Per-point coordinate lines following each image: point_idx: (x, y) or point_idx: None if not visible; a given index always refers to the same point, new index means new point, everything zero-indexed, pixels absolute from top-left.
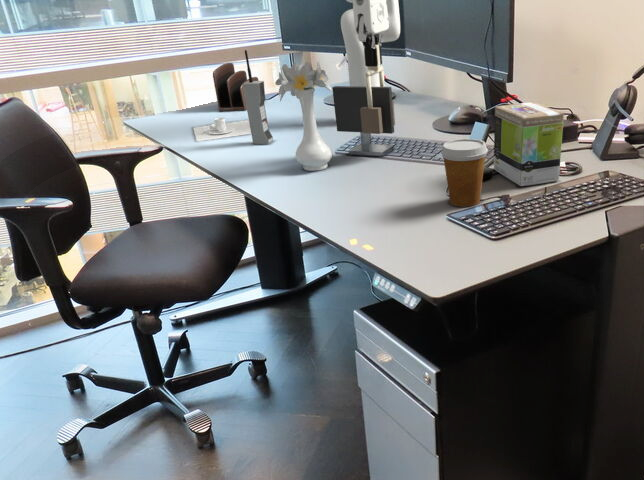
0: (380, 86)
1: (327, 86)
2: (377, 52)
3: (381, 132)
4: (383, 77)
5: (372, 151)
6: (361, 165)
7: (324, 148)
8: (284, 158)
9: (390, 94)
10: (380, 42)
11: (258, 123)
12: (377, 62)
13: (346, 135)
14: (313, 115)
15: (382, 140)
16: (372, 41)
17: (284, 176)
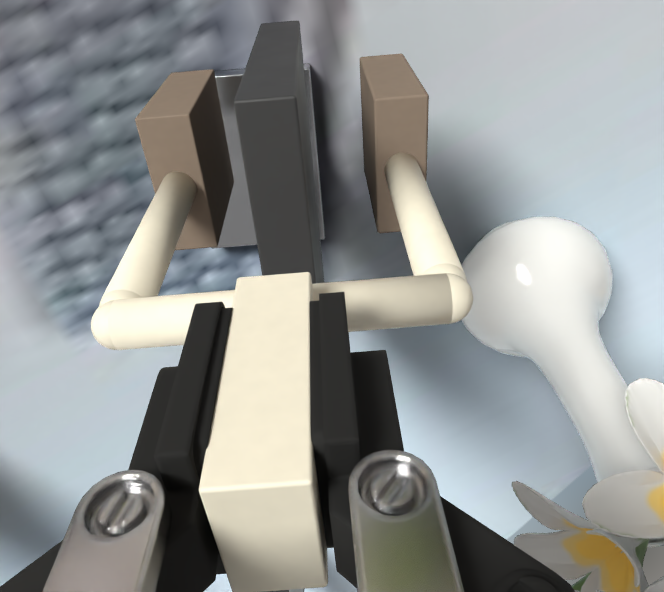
0: (175, 246)
1: (648, 435)
2: (285, 402)
3: (381, 55)
4: (137, 259)
5: (311, 127)
6: (458, 95)
7: (567, 248)
8: (418, 407)
9: (270, 81)
10: (101, 526)
11: (294, 589)
12: (333, 309)
13: (80, 377)
14: (609, 378)
15: (65, 209)
16: (452, 556)
17: (621, 303)
